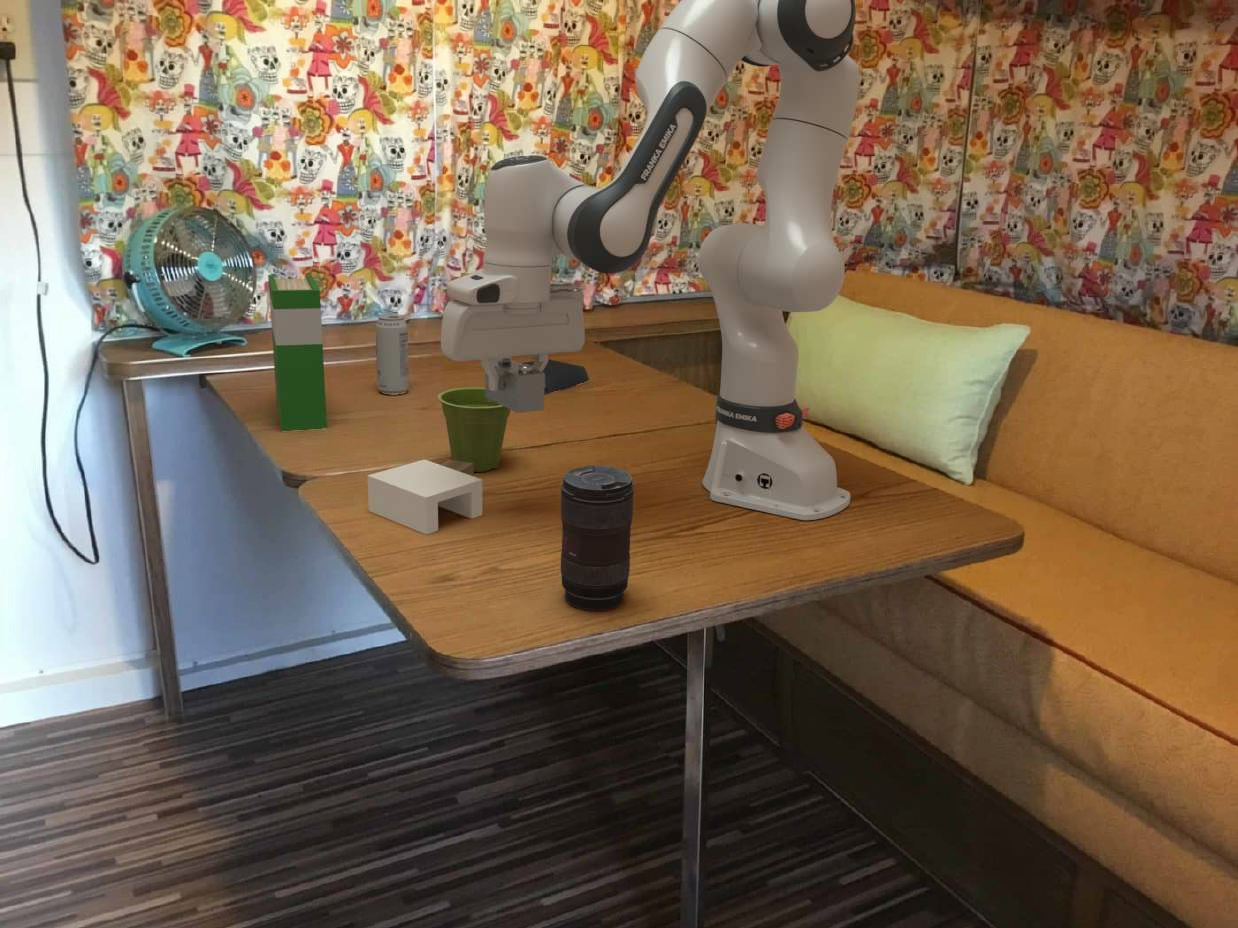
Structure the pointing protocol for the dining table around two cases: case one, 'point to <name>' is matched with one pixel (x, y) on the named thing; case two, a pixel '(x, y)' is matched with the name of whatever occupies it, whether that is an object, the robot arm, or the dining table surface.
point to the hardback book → (298, 353)
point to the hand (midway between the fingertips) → (514, 388)
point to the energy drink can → (392, 354)
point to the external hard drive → (561, 375)
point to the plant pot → (474, 427)
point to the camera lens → (596, 536)
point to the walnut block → (459, 466)
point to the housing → (518, 386)
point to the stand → (423, 494)
